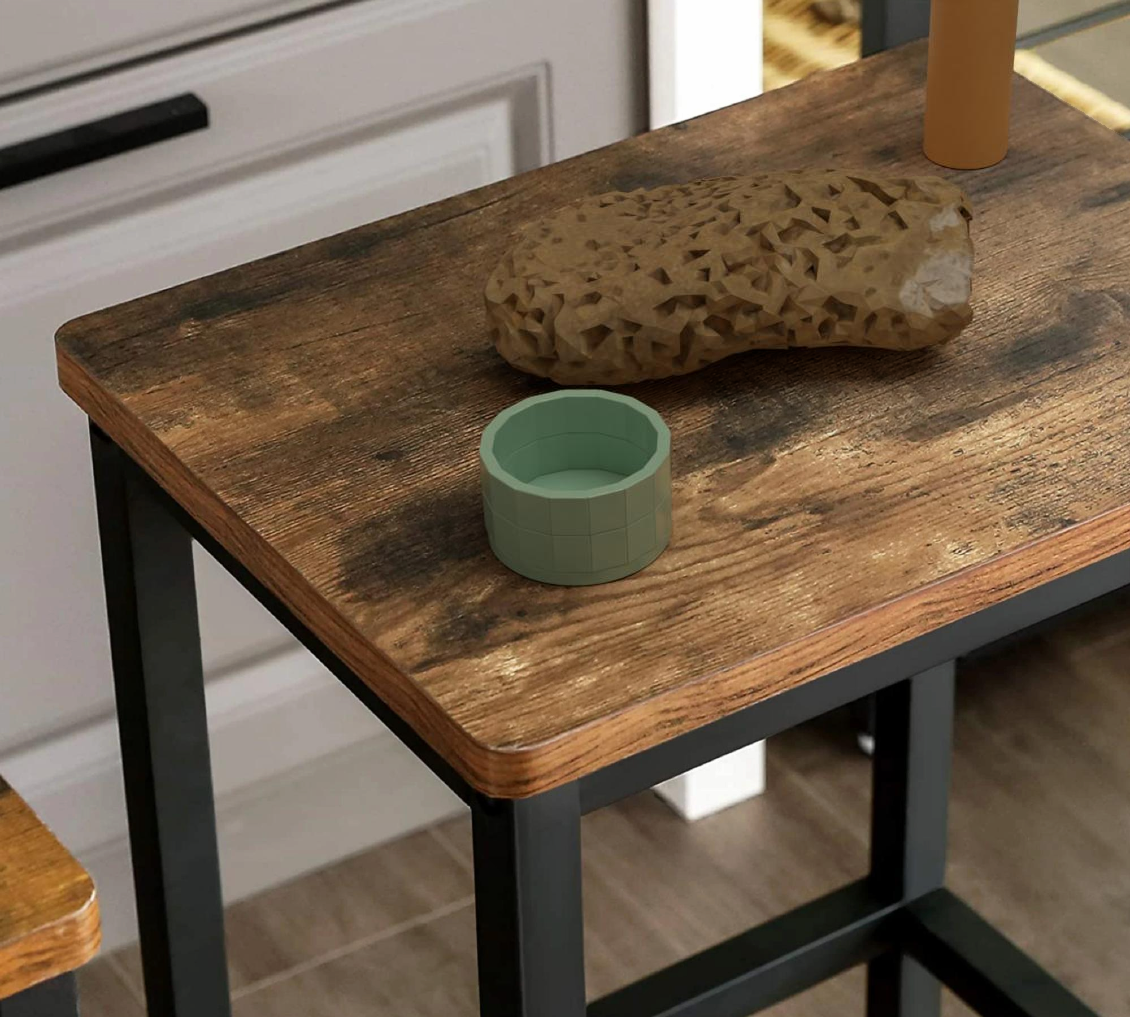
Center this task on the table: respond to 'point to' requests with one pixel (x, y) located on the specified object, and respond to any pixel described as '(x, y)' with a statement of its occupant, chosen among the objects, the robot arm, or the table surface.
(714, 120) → the table surface
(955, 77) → the tall orange cylinder
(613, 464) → the green ceramic dish
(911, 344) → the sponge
